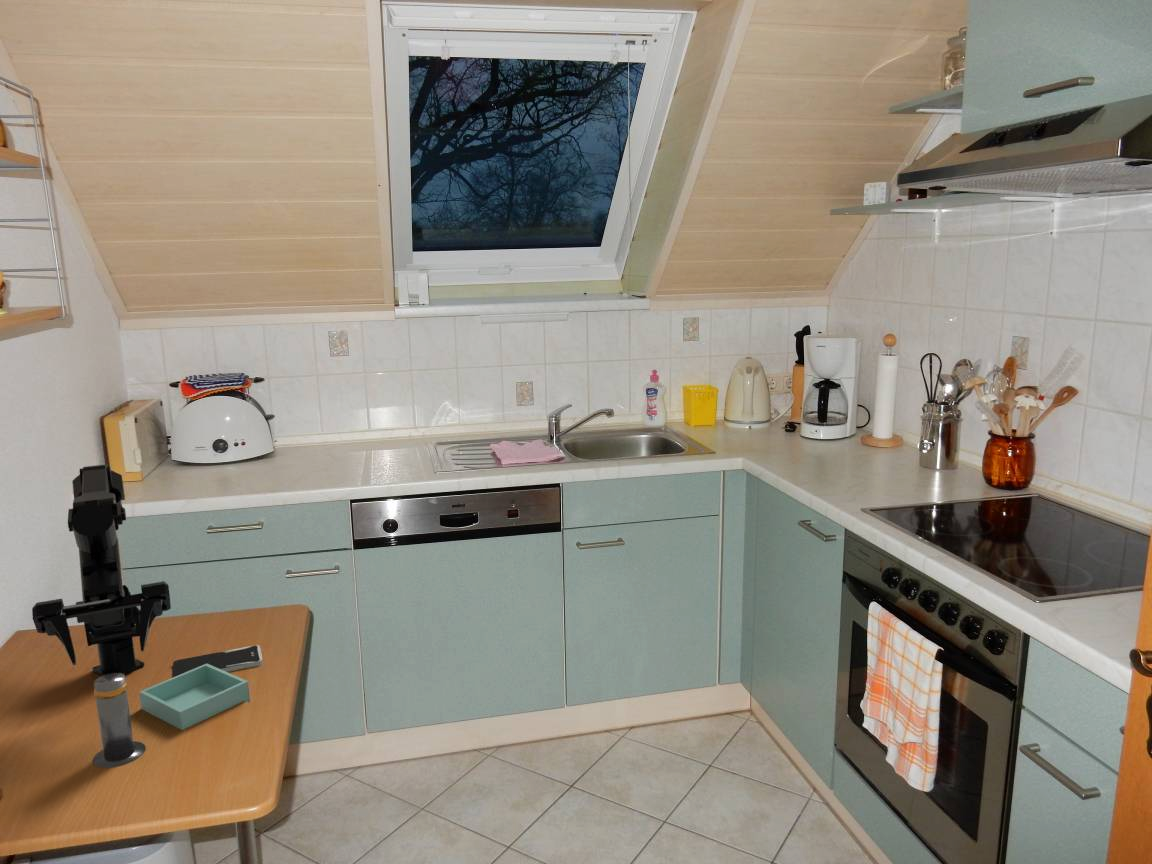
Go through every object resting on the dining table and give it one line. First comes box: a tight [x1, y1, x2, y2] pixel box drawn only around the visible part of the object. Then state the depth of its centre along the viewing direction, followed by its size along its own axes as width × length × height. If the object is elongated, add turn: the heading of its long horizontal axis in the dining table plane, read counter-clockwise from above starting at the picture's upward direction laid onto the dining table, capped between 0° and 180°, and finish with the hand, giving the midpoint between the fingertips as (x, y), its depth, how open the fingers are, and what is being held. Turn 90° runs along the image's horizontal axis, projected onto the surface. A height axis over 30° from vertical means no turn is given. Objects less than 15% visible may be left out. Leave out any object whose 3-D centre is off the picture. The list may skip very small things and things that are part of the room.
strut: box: [93, 673, 135, 762], centre depth 127 cm, size 4×4×12 cm
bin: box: [138, 664, 251, 731], centre depth 142 cm, size 12×12×4 cm
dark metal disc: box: [92, 740, 147, 769], centre depth 128 cm, size 7×7×1 cm
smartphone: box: [172, 644, 264, 678], centre depth 157 cm, size 8×1×15 cm
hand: (108, 657), depth 131 cm, fingers open, 9 cm apart
